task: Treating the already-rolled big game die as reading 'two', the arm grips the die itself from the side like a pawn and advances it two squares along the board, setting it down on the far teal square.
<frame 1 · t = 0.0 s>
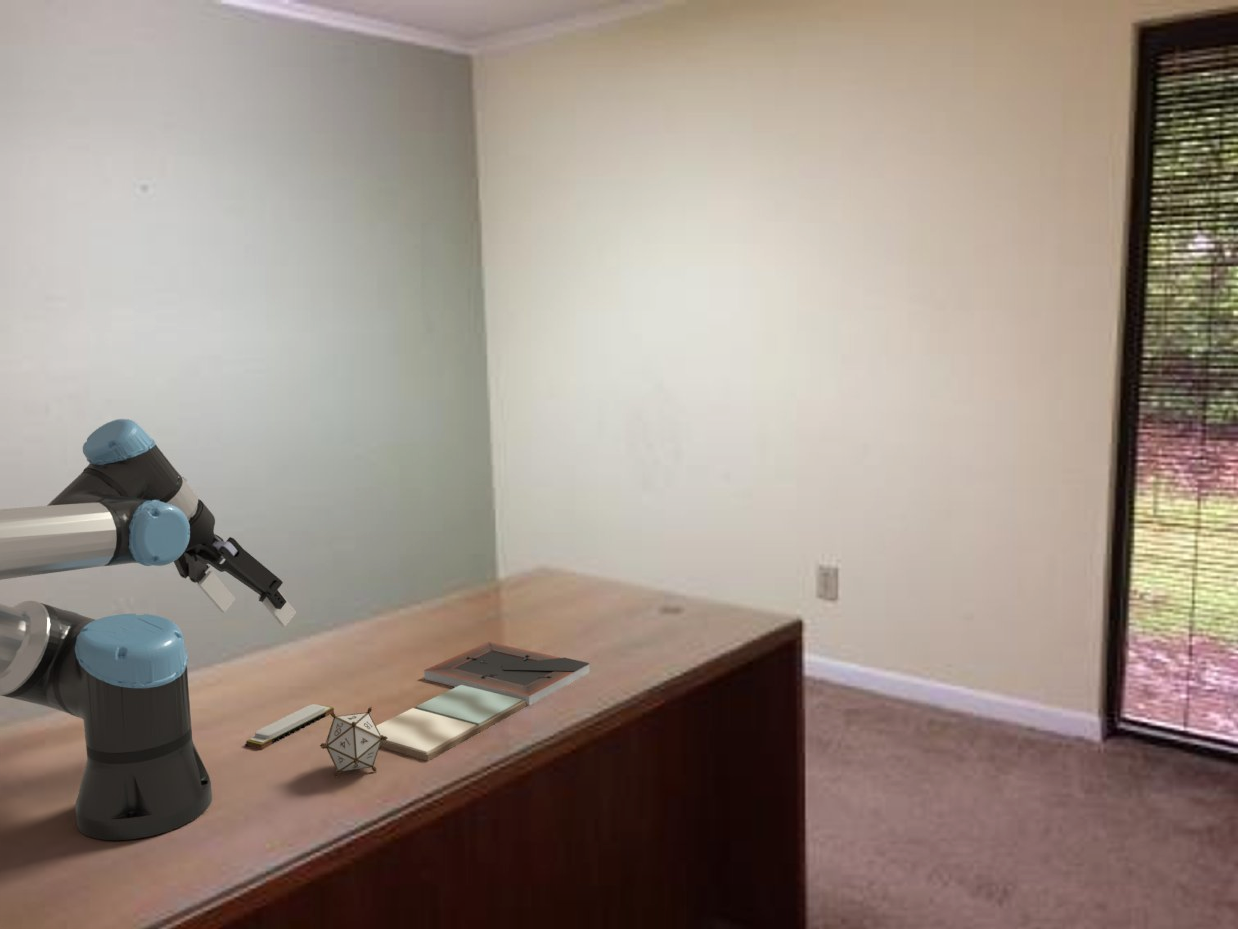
hand: (258, 612, 155), 15 cm above the table, tool tilted 35°, fingers open, 13 cm apart
picture frame: (507, 681, 171), on the table
game die: (355, 771, 137), on the table
board: (445, 722, 152), on the table
harmonica: (291, 732, 151), on the table
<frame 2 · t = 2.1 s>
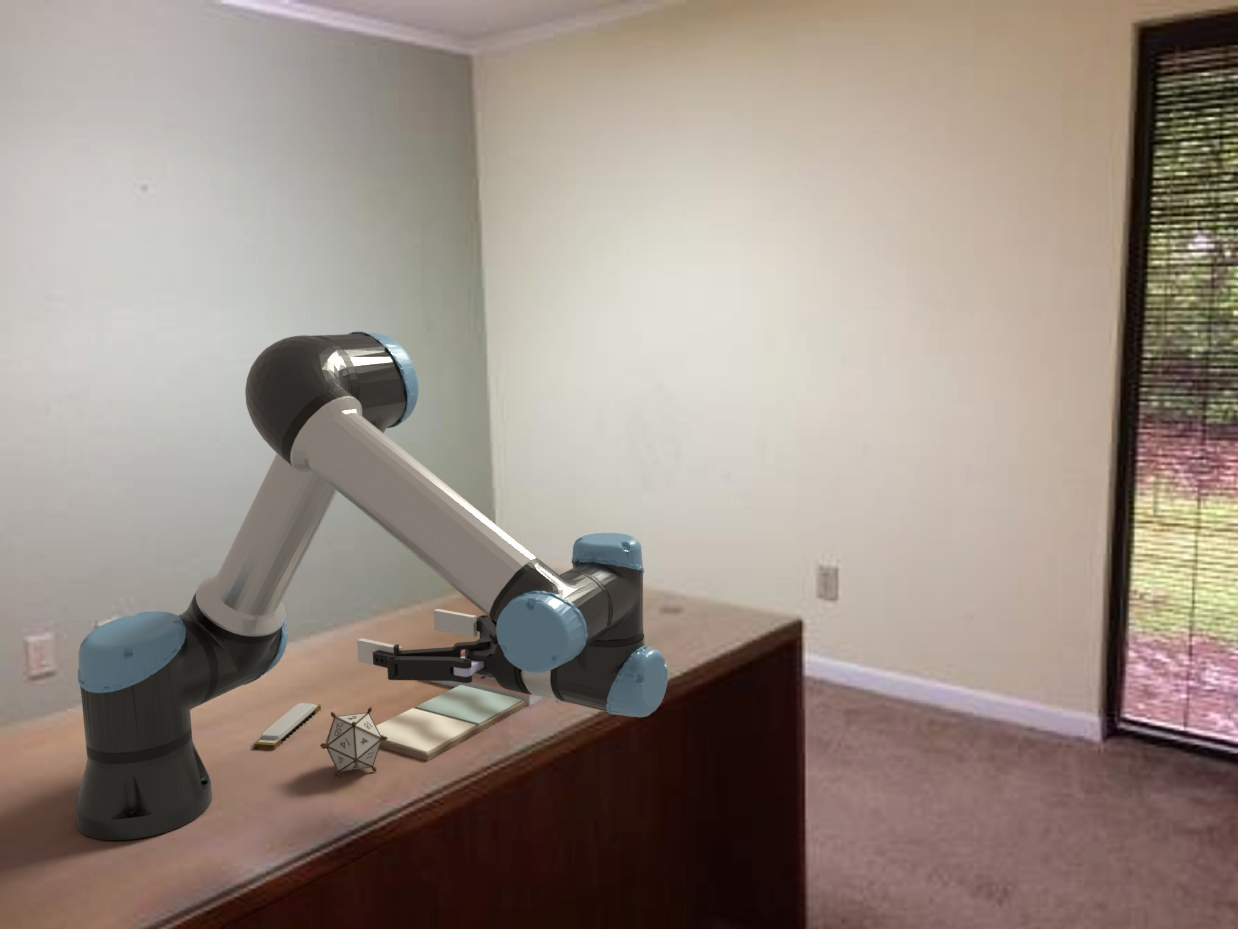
hand: (399, 634, 129), 20 cm above the table, tool horizontal, fingers open, 13 cm apart
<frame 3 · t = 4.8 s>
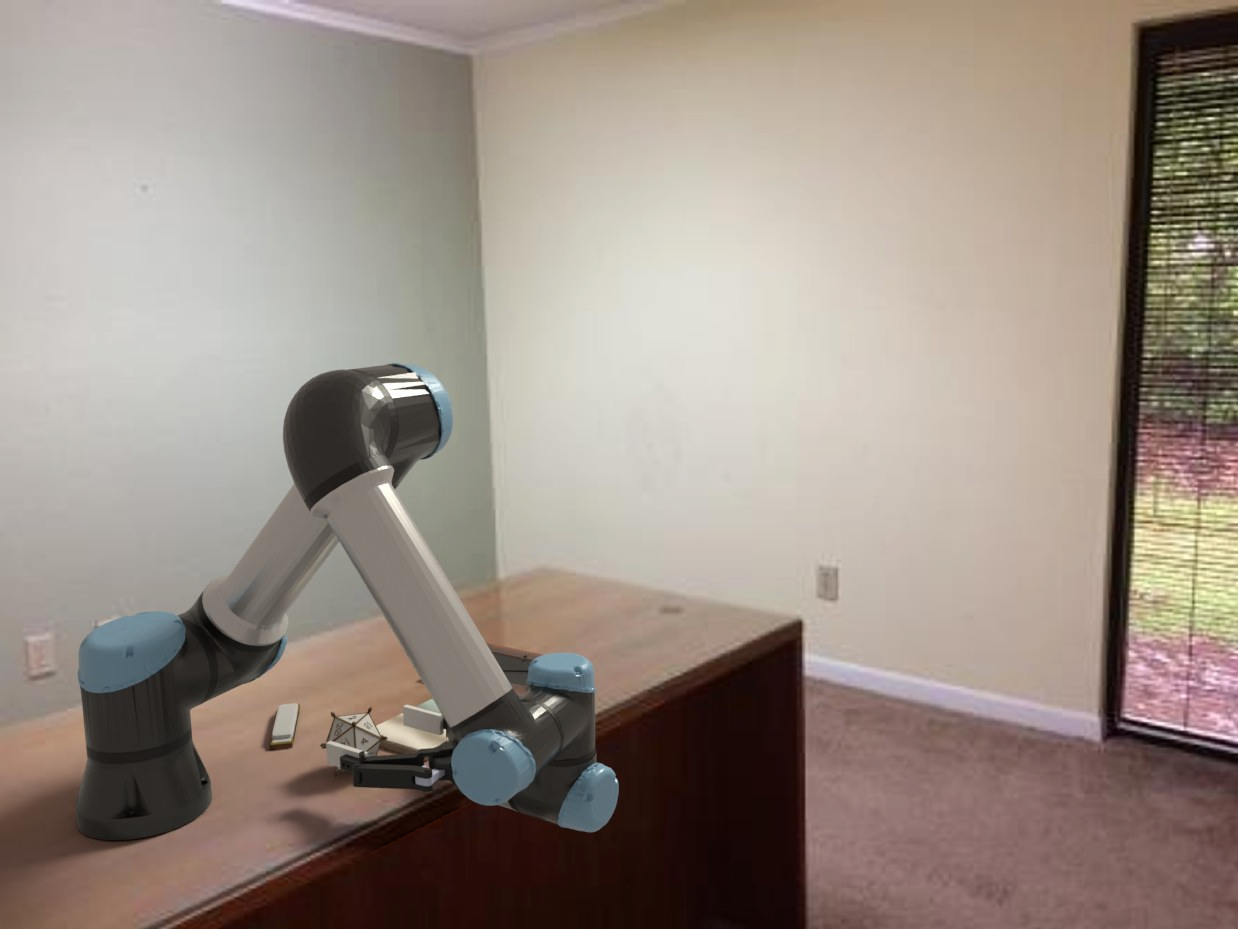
hand: (368, 732, 135), 6 cm above the table, tool horizontal, fingers open, 13 cm apart
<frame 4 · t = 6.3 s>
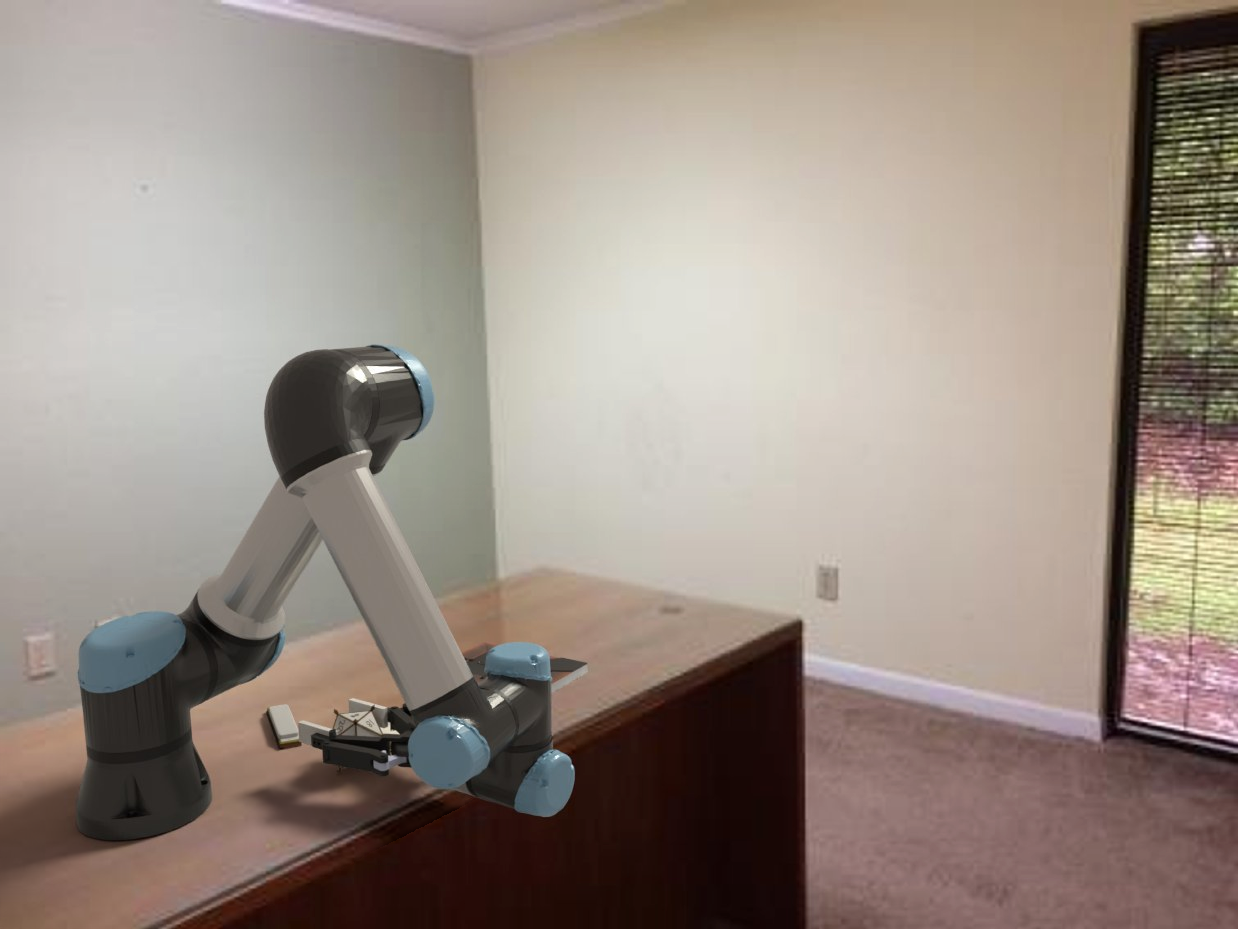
hand: (326, 719, 138), 6 cm above the table, tool horizontal, fingers closed on game die, 8 cm apart
game die: (357, 769, 138), on the table, touching gripper
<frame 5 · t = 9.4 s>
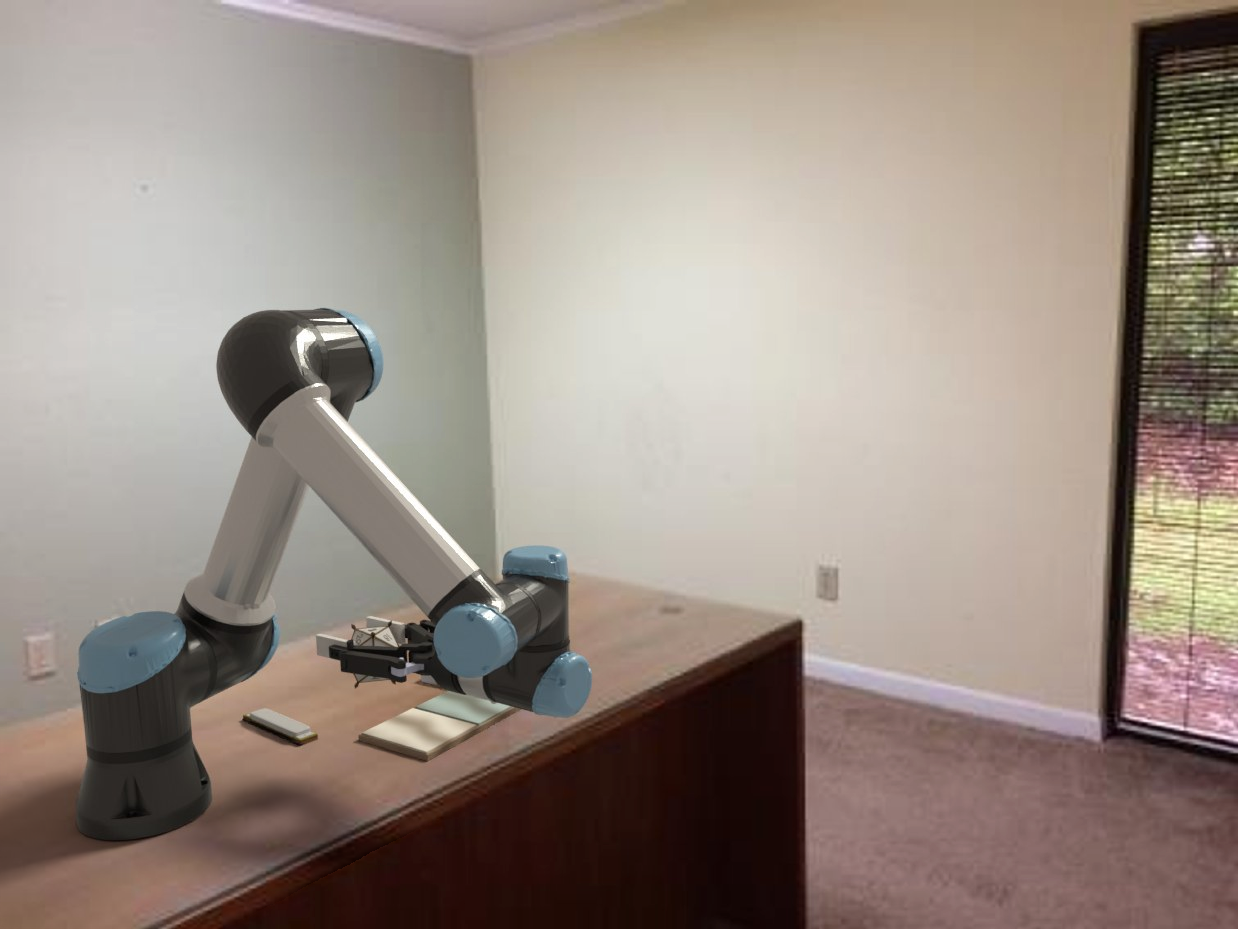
hand: (344, 635, 139), 17 cm above the table, tool horizontal, fingers closed on game die, 8 cm apart
game die: (374, 684, 138), point 11 cm above the table, touching gripper
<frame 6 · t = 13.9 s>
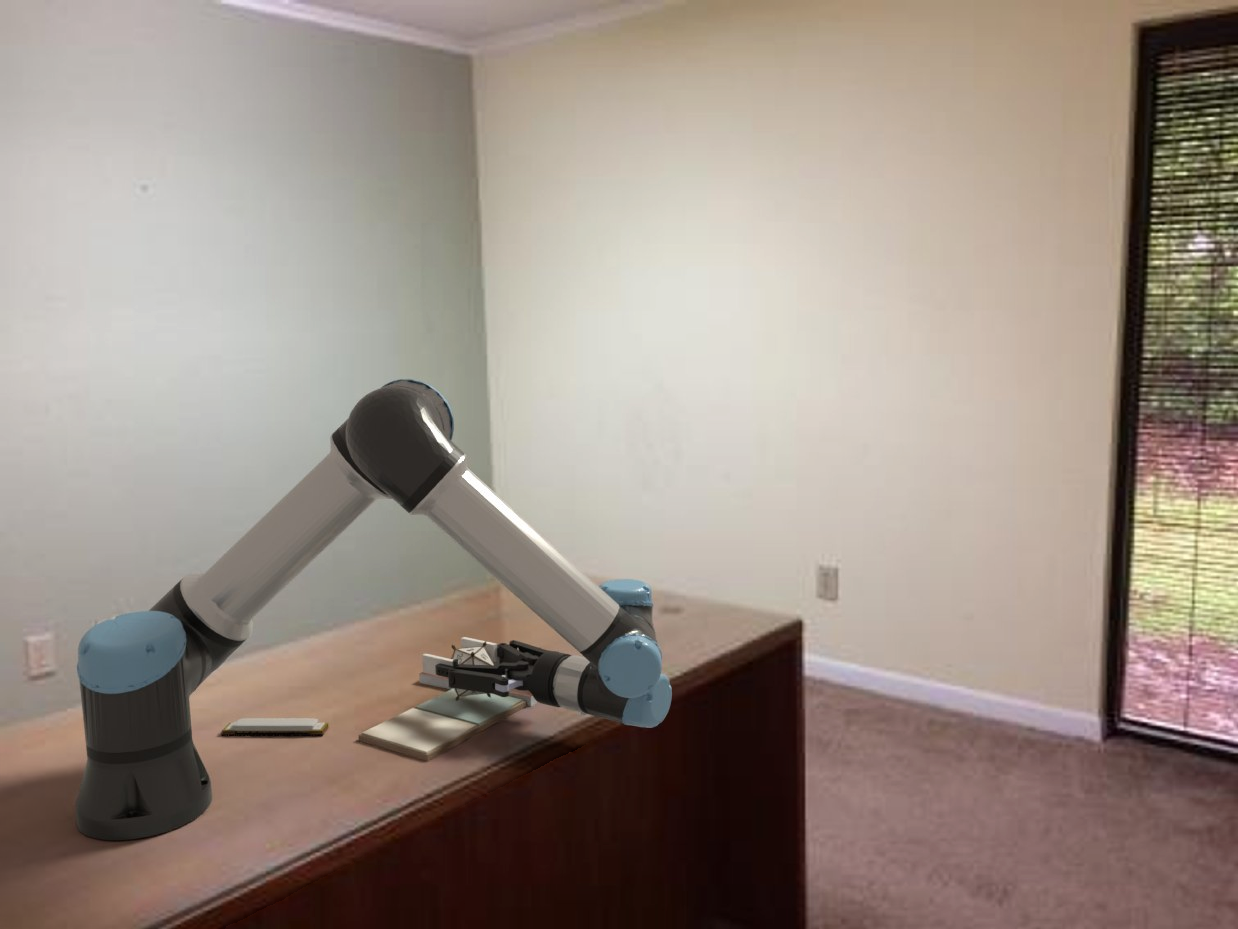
hand: (444, 654, 158), 8 cm above the table, tool horizontal, fingers closed on game die, 8 cm apart
game die: (472, 697, 157), point 2 cm above the table, touching gripper
when the fingers open (8 cm above the table, at t = 14.3 s): game die stays where it is, resting on board.
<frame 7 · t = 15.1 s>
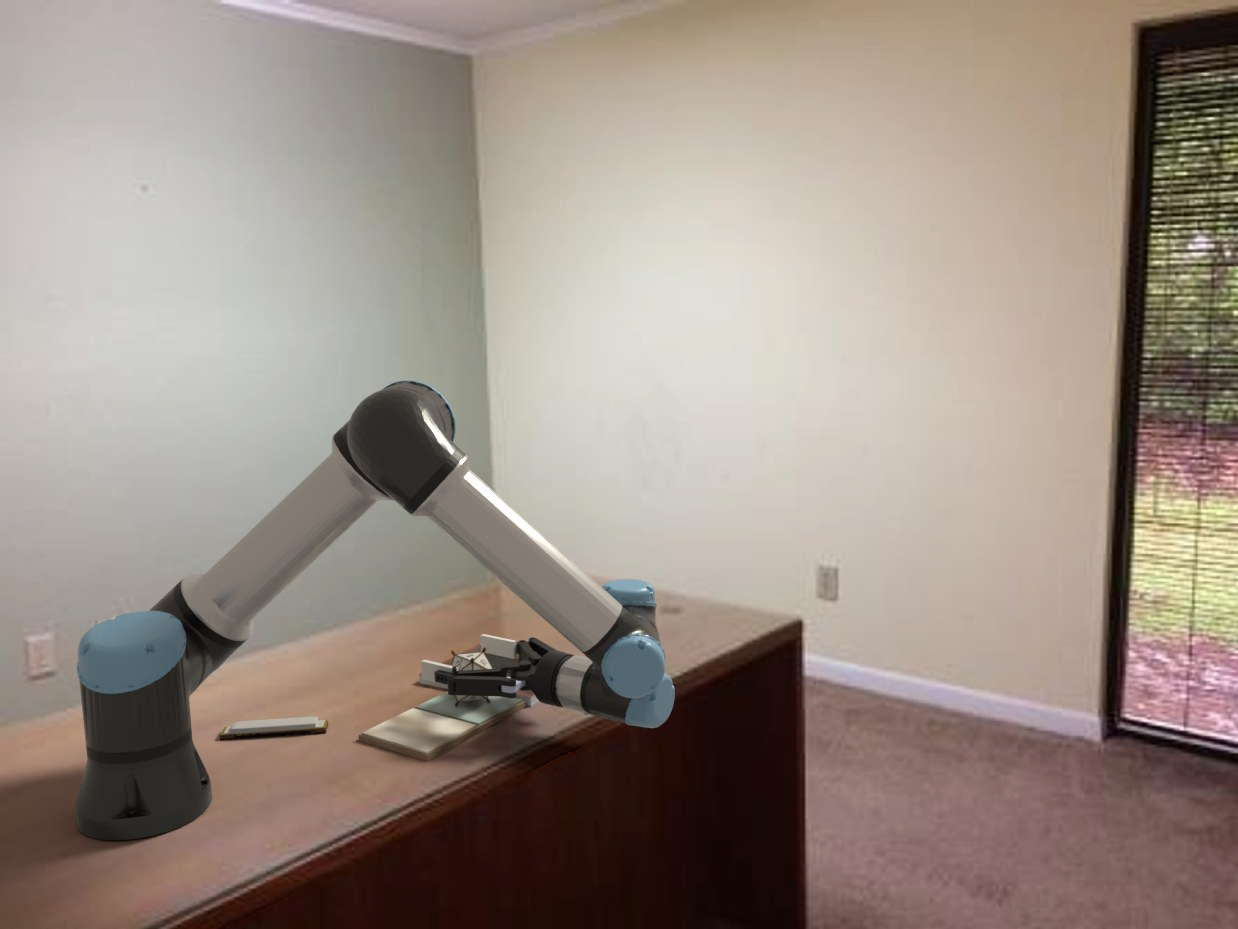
hand: (453, 655, 157), 8 cm above the table, tool horizontal, fingers open, 13 cm apart
game die: (471, 703, 157), point 1 cm above the table, touching board
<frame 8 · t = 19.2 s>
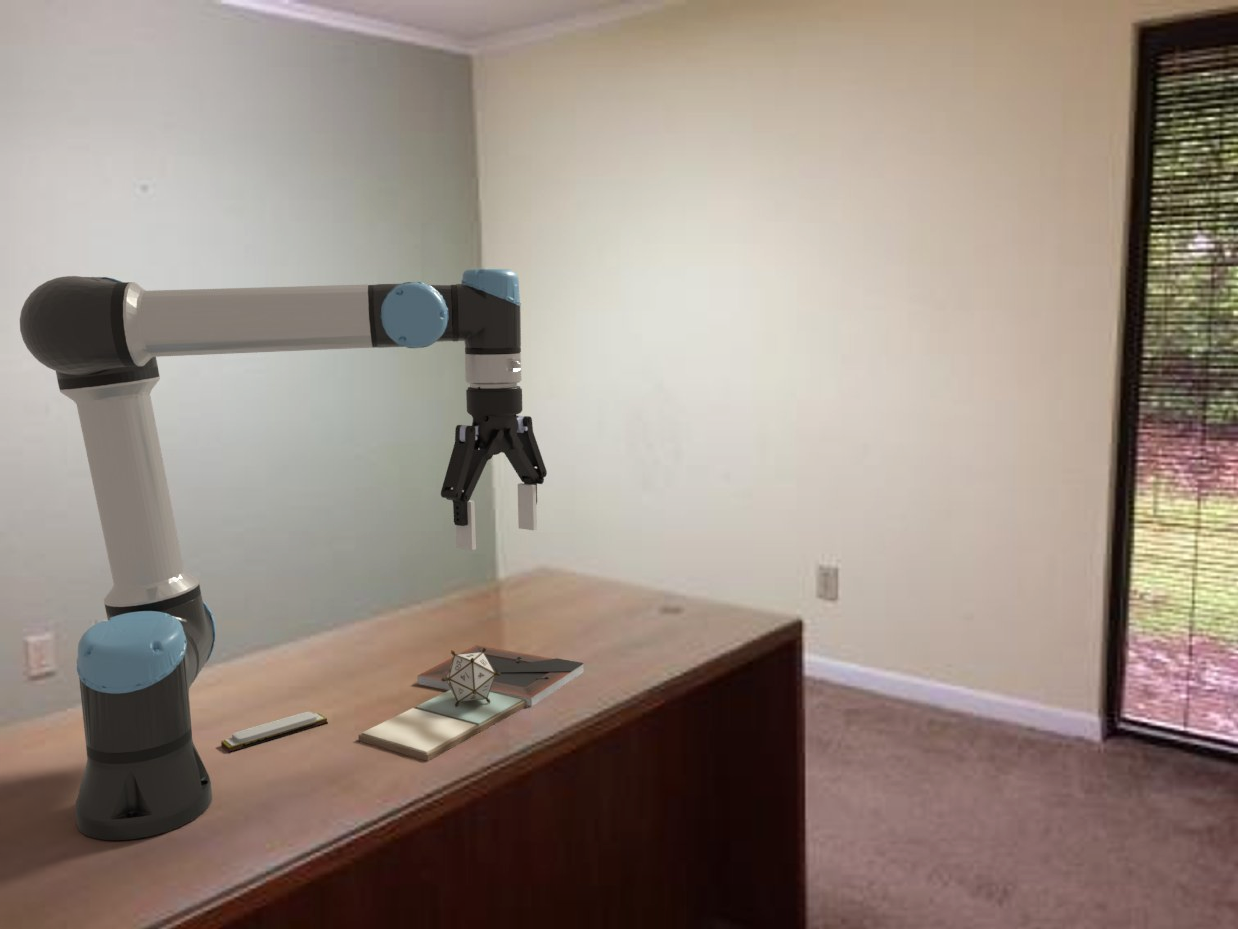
hand: (498, 538, 143), 29 cm above the table, tool pointing down, fingers open, 13 cm apart
at the end: game die inside the target area on the board (0.4 cm from its centre), point 0.9 cm above the board's base; game die moved 24.1 cm from its start; the gripper is holding nothing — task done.
